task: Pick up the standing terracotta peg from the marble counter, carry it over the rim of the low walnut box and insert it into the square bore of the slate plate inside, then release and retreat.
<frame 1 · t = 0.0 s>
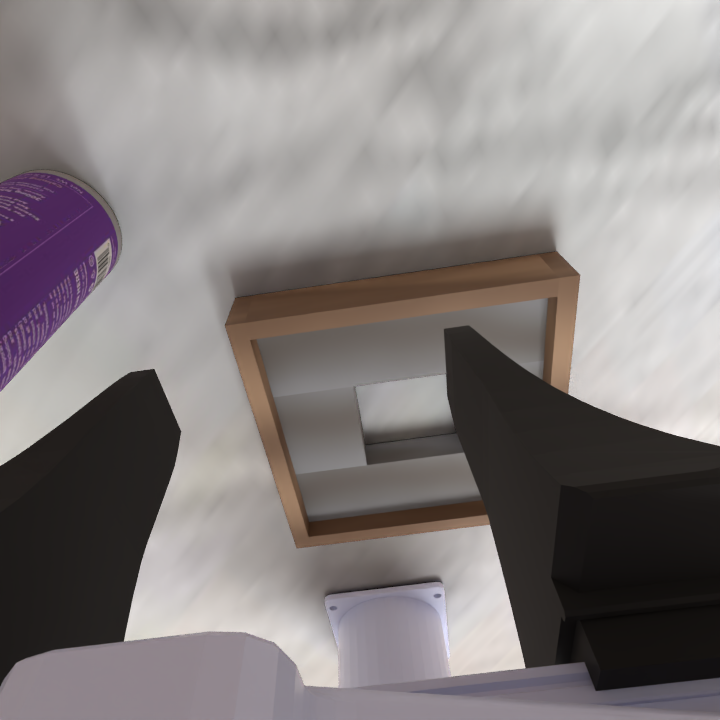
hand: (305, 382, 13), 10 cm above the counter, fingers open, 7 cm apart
box: (407, 402, 26), on the counter
container: (64, 228, 21), on the counter
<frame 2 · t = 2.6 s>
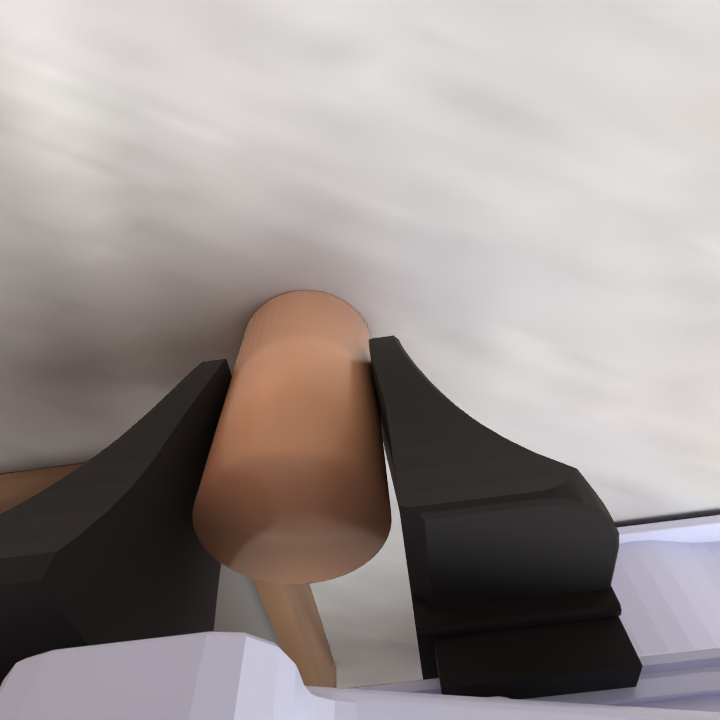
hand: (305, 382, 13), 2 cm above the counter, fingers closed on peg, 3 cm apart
box: (128, 597, 20), on the counter
peg: (308, 348, 14), on the counter, touching gripper
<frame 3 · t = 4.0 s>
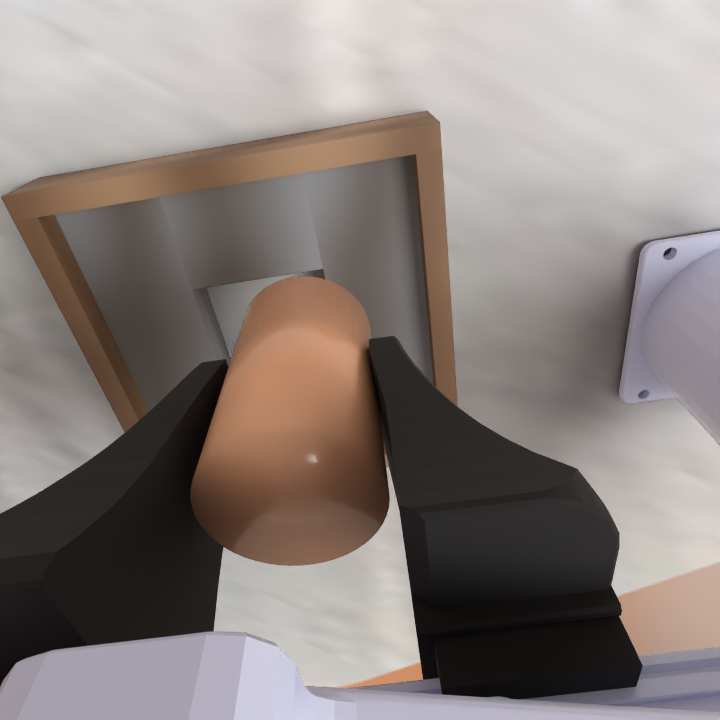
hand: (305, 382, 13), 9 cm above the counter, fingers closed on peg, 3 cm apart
box: (276, 318, 22), on the counter
peg: (307, 335, 14), point 7 cm above the counter, touching gripper
when the fingers open (2 cm above the counter, at t = 5.7 s): peg stays where it is, resting in box.
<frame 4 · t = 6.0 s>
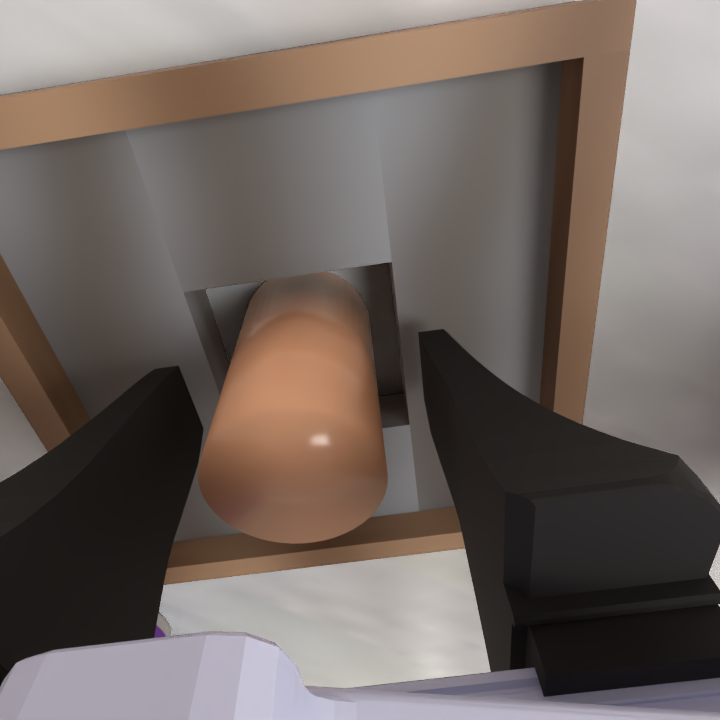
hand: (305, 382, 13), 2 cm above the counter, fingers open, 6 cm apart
box: (309, 335, 15), on the counter
peg: (308, 325, 15), resting in box
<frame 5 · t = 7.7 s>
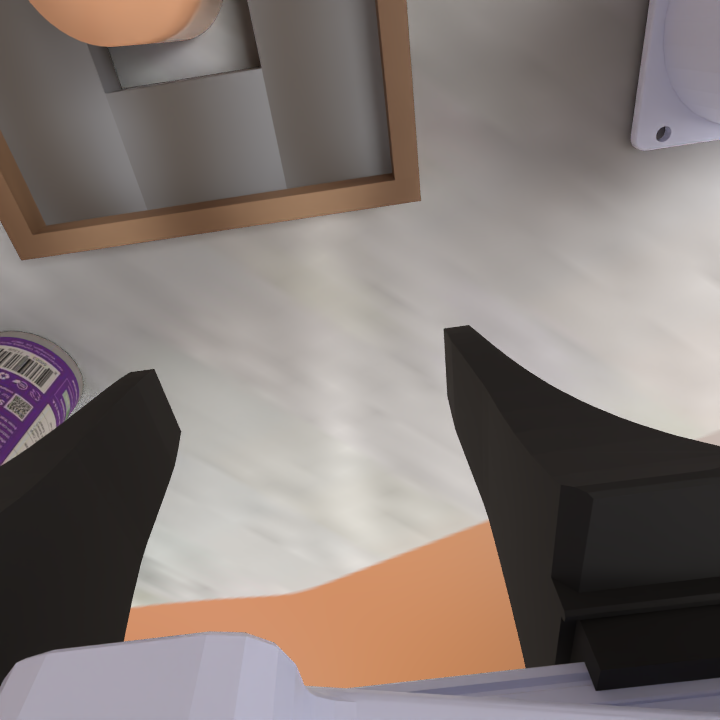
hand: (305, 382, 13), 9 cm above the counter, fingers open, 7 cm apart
container: (32, 372, 24), on the counter
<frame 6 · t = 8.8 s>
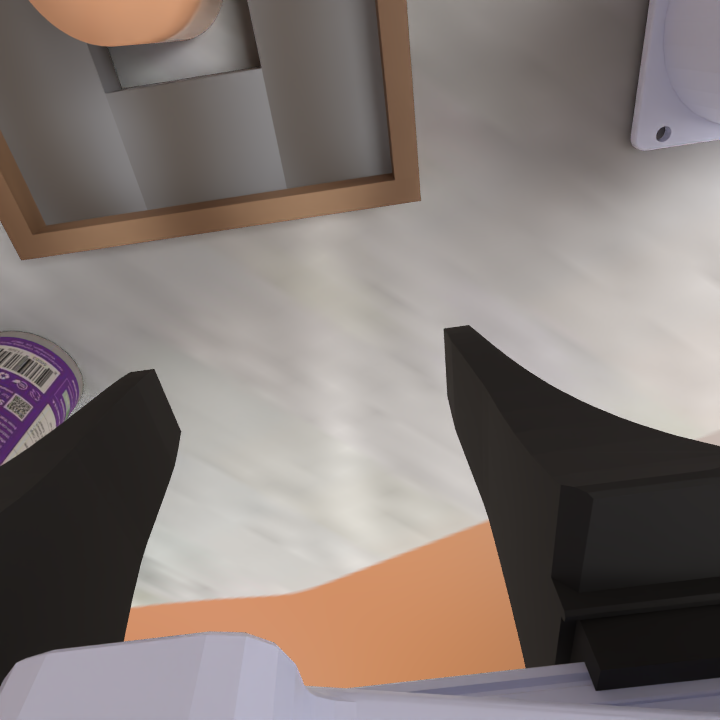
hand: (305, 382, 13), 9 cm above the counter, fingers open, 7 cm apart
container: (31, 372, 24), on the counter
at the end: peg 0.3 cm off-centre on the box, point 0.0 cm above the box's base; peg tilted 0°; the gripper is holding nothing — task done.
